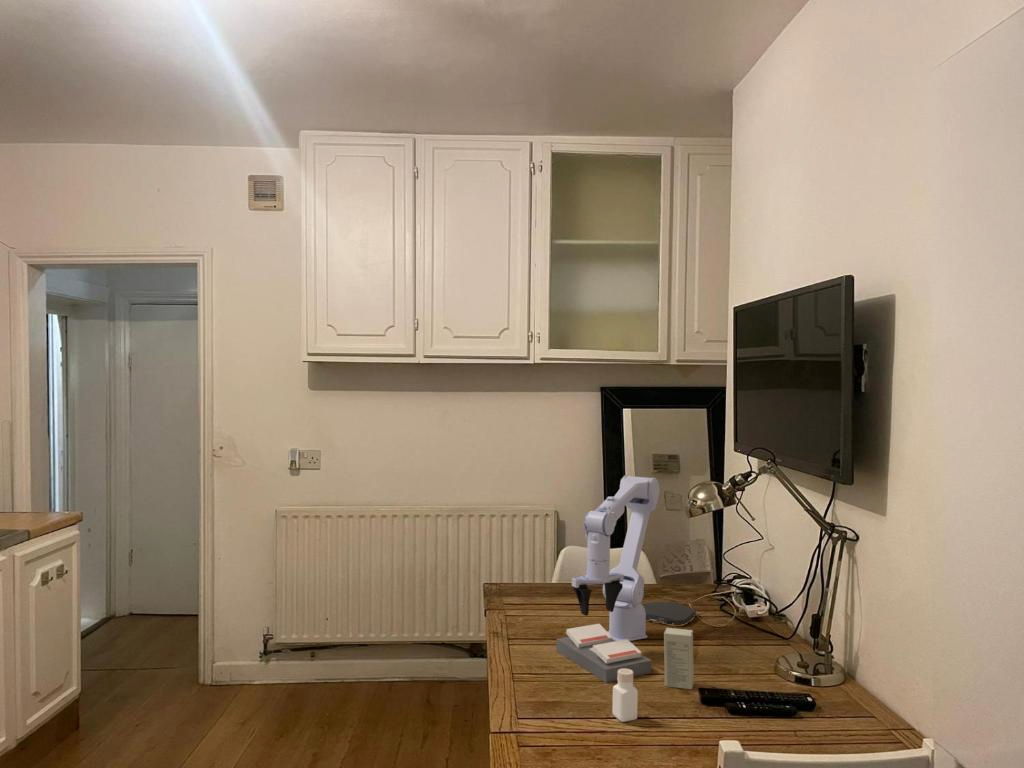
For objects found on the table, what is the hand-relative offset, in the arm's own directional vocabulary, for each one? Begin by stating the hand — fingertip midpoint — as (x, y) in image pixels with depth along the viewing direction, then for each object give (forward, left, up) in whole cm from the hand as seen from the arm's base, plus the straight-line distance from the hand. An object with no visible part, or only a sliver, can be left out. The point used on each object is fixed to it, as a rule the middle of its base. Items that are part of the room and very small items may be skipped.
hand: (597, 612), depth 184 cm
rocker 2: (+2, +11, -6) cm, 13 cm away
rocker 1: (+2, -1, -6) cm, 7 cm away
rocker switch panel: (+2, +5, -10) cm, 12 cm away
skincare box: (-6, +24, -11) cm, 27 cm away
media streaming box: (-35, -15, -11) cm, 40 cm away
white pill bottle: (+15, +32, -11) cm, 37 cm away
